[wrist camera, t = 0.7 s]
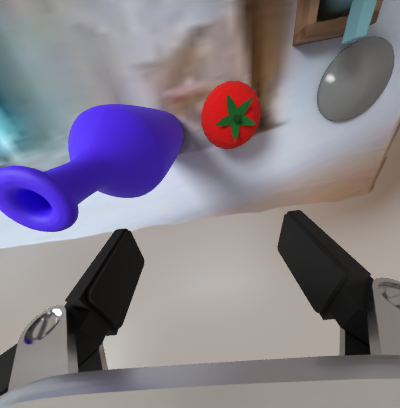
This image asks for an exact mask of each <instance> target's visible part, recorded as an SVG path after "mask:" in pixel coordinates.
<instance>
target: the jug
mask: <svg viewBox="0 0 400 408" xmlns="http://www.w3.org/2000/svg"><path fill="white" fill-rule="evenodd" d="M376 2H377V0H320V2H319V7H318V13H317V18H318V19H319V20H320V21H327V20H332V19H336V18H337V17H339V16H340V15H342V14H343V13H344V12H346V11H347V10H349V9H350V12H349V16H348V20H347V24H346V28H345V33H344V37H343V41H342V44H346V43H352V42H354V41H356V40H358V39H360V38H363V37H365V36H366V35H367V32H368V28H369V25H370V22H371V18H372V15H373V12H374V8H375V5H376Z"/></svg>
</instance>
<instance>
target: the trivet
mask: <svg viewBox="0 0 400 408" xmlns="http://www.w3.org/2000/svg"><path fill="white" fill-rule="evenodd" d="M393 66H394V51H393V48H392V46H391V44H390V43H389V42H388V41H387V40H386V39H384V38H381V37H369V38H365V39H363V40H360V41H358V42H356V43H354V44H352V45H350V46H349V47H347V48H346V49H345V50H343V51H342V52H341V53H340V54H339V55H338V56H337V57H336V58H335V59H334V60H333V61H332V63H331V64H330V65H329V67H328V68H327V70H326V72H325V73H324V75H323V77H322V80H321V82H320V85H319V89H318V94H317V104H318V108H319V111H320V113H321V114H322V115H323V116H324V117H325V118H327V119H329V120H333V121H344V120H348V119H351V118H354V117H356V116H358V115H359V114H361V113H362V112H364V111H365V110H366V109H368V108H369V107H370V106H371V105H372V104H373V103H374V102H375V101H376V100H377V99H378V97H379V96H380V95H381V93H382V92H383V90H384V89H385V87H386V85H387V83H388V81H389V79H390V77H391V74H392V71H393Z"/></svg>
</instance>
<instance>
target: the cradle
mask: <svg viewBox="0 0 400 408" xmlns="http://www.w3.org/2000/svg"><path fill="white" fill-rule="evenodd" d="M382 1H383V0H377V2H376V5H375V8H374V12H373V15H372V18H371V22H370V25H372V24H374V23H375V22H376V20H377V17H378V14H379V11H380V8H381V4H382ZM319 2H320V0H298V6H297V14H296V22H295V30H294V38H293V46H295V45H300V44H305V43H310V42H315V41H320V40H326V39H331V38H336V37H341V36H344V33H345V28H346V24H347V20H348V16H349V12H350V9H349V10H347V11H346V12H344V13H343V14H342V15H340V16H339V17H337V18H336V19H332V20H327V21H320V20H319V19H318V18H317V13H318V7H319ZM370 25H369V26H370Z"/></svg>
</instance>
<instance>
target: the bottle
mask: <svg viewBox="0 0 400 408" xmlns="http://www.w3.org/2000/svg"><path fill="white" fill-rule="evenodd" d="M183 140H184V130H183V127H182V125H181V123H180V121H179V120H178V119H177V118H176V117H175V116H174V115H172V114H170V113H168V112H165V111H161V110H157V109H152V108H146V107H140V106H133V105H121V104H108V105H99V106H96V107H93V108H90V109H88V110H86V111H84V112H83V113H81V114H80V115H79V116H78V117H77V118H76V120H75V121H74V123H73V125H72V127H71V130H70V134H69V141H68V147H69V155H70V160H71V161H70V162H69V163H66V164H64V165H61V166H59V167H56V168H53V169H50V170H48V171H44V172H42V171H40V170H37V169H34V168H29V167H25V166H8V167H3V168H0V210H1V211H2V212H3V213H4V214H5V215H7V216H8V217H9V218H11V219H12V220H14V221H16V222H17V223H19V224H21V225H23V226H26V227H28V228H31V229H34V230H39V231H46V232H57V231H62V230H65V229H67V228H69V227H71V226H72V225H73V224H74V223H75V221H76V220H77V218H78V204H79V203H80V202H82V201H83V200H84V199H86V198H87V197H88V196H90V195H91V194H93V193H94V192H96V191H99V192H102V193H104V194H107V195H111V196H115V197H122V198H134V197H139V196H142V195H145V194H147V193H148V192H150V191H152V190H153V189H154V188H155V187H156V186H157V185H158V184H159V183H160V182H161V181H162V180H163V178H164V177H165V175H166V174H167V172H168V171H169V169H170V167H171V166H172V164H173V162H174V160H175V159H176V157H177V155H178V153H179V151H180V149H181V147H182V144H183Z"/></svg>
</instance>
